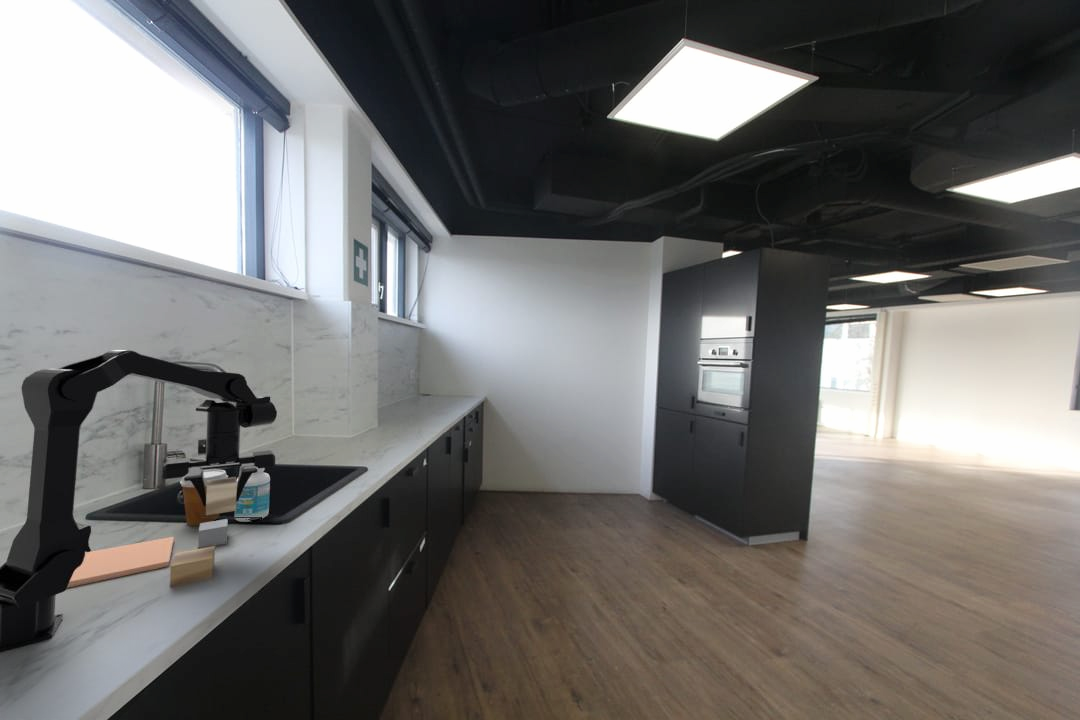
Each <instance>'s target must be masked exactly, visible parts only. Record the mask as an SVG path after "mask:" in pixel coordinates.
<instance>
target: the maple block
mask: <svg viewBox="0 0 1080 720" xmlns="http://www.w3.org/2000/svg"><path fill="white" fill-rule="evenodd" d="M236 480H237V477H236V476H231V477H228V478H223V479H215V480H207V494H206V515H212V514H218V513H219V514H222V513H229V512H235V511H236V492H237V481H236Z"/></svg>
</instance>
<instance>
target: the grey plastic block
mask: <svg viewBox="0 0 1080 720" xmlns="http://www.w3.org/2000/svg"><path fill="white" fill-rule="evenodd" d="M228 521H229V520H228V518H224V519H218V520H216V521H211V522H205V523H200V525H199V527H198V539H197V541H198V543H197V545H198V546H197V549H201V548H207V547H213V546H219V545H224V544H228V523H229V522H228Z"/></svg>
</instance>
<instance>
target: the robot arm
mask: <svg viewBox="0 0 1080 720" xmlns="http://www.w3.org/2000/svg"><path fill="white" fill-rule="evenodd" d="M127 376H132V377H137V378H143V379H147V380H151V381H156V382H161V383H166V384H171V385H174V386H175V385H176V386H180V387H185V388H187V389H189V390H191V391H193V392H194V393H196V394H198V395H202V396H204V397H207V398H209V399H205V400H204V402H202V404H199V405H198V406H197V407H195V412H203V413H207V414H206V416H207V417H206V436H205V437H206V438H205V439H204V438H203V439H197V440H198V441H197V455H198V456H202V455H205V460H198V461H197V460H196V461H191V457H183V458H172V459H170V458H169V459H168V460H166V462H164V464H163V467H162V476H161V478H162V480H168V479H177V478H179V479H180V478H182V477H184V481H191V482H192V484H193V485H194V487H195V488H196V490H197V492H198V494H199V496H200V499H201V501H202V503H203V506H204V507H205V506H206V490H205V483H204V474H203V470H216V469H222V468H223V469H224V468H225V469H226V468H232V467H239V471H238V472H239V473H238V477H239V478H238V477H237V478H238V483H237V492H236V502H238V500H239V498H240V495H241V493H242V491H243V488H244V486H245V484H246V482H247V481H248V479H249V478H250V476H251V474H252V473H256V472H258V470H257V468H258V469H259V468H265V469H266V468H274V467H276V454H275V453H274V452H273V451H272V450H258V451H252V455H251V456H242V457H240V446H241V445H240V440H241V428H244V429H245V428H252V427H260V426H266V425H267V426H268V425H271V424H273V423H274V422H275V420H276V419H277V415H278V411H277V409H276V406H275V404H274V403H273V402H272V401H271V396H268V395H260V396H256V394H254V392H253V391H252V389H251V388H250V386H249V385H248V383H247V380H246V377H245V376H244V375H243V374H240V373H237V372H228V371H227V372H225V371H224V372H223V371H213V370H203V369H198V368H195V367H190V366H186V365H183V364H180V363H179V364H178V363H176V362H170V361H167V360H163V359H159V358H156V357H153V356H149V355H144V354H141V353H138V352H137V351H134V350H128V349H125V350H124V349H112V350H108V351H106V352H104V353H102V354H99V355H96V356H95V357H94V356H93V357H91V358H87V359H84V360H80V361H77V362H76V361H75V362H73V363H70V364H66V365H64V366H62V367H58V368H45V369H44V368H43V369H40V370H36V371H34V372H32V373H31V374H30V375H28V376H26V377H24V379H23V381H22V384H21V394H22V398H23V399H22V400H23V405H24V409H25V411H26V413H27V415H28V417H29V419H30V421H31V423H32V425H33V430H34V431H33V440H32V441H33V443H32V452H31V453H32V454H31V455H32V457H31V463H30V464H31V466H30V476H29V477H30V478H29V490H28V501H27V514H26V520H25V522H24V524H23V525H22V526H21V528H20V530H19V531H18V533H17V534H16V536H15V537H14V538H13V541H12V543H11V546H10V550H9V551H8V555H7V559H6V561H5V563H3V564H2V565H1V566H0V652H1V651H6V650H10V649H13V648H17V647H18V648H19V647H22V646H26V645H29V644H33V643H36V642H40V641H44V640H48V639H50V638H52V637H53V635H54V634H55V632H56V631H57V628H58V627H59V626H60V623H61V622H62V620H63V618H64V614H63V613H59V614H58V613H57V614H56V597H57V596H56V595H59V594H61V593H65V592H66V590H67V589H68V588H67V586H68V584H69V582H70V579H71V577H72V575H73V573H74V571H75V570H76V569H77V568H78V567H79V566H81V564H82V563H83V561H84V557H85V553H86V552H91V551H92V550H91V548H90V543H89V542H90V541H89V540H90V536H91V533H92V526H91V525H88V524H84V523H80V522H76V519H75V518H74V507H75V505H74V504H75V497H76V496H75V493H76V481H77V469H78V459H79V457H78V456H79V447H80V446H79V443H80V433H81V427H82V424H83V423H84V421H85V420H86V419H87V417H88V416H89V415H90V413H91V412H92V410H93V408H94V404H95V403H96V399H97V395H98V393H100V392H102V391H104V390H106V389H108V388H110V387H113V386H115V384H117V383H118V382H120V381H121V380H123V379H124V378H126V377H127ZM215 399H216V400H220V401H222V402H216V400H215ZM233 403H235V405H234V404H233Z"/></svg>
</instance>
